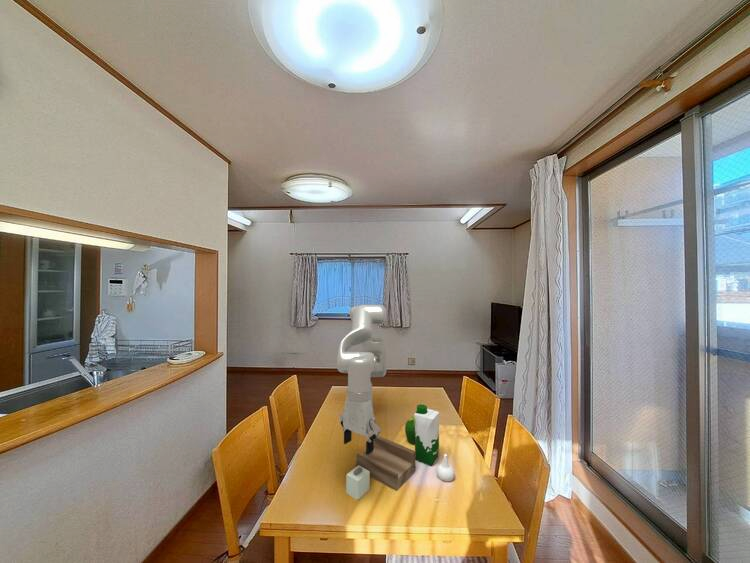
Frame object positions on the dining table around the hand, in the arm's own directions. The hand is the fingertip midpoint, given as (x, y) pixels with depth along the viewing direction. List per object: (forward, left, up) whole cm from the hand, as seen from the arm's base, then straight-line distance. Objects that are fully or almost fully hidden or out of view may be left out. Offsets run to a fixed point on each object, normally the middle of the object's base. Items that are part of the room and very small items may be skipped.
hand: (358, 447), depth 90 cm
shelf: (+1, +15, -15) cm, 21 cm away
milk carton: (+10, +30, -15) cm, 35 cm away
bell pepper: (0, +38, -15) cm, 41 cm away
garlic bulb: (+20, +25, -15) cm, 35 cm away
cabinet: (0, 0, -15) cm, 15 cm away
